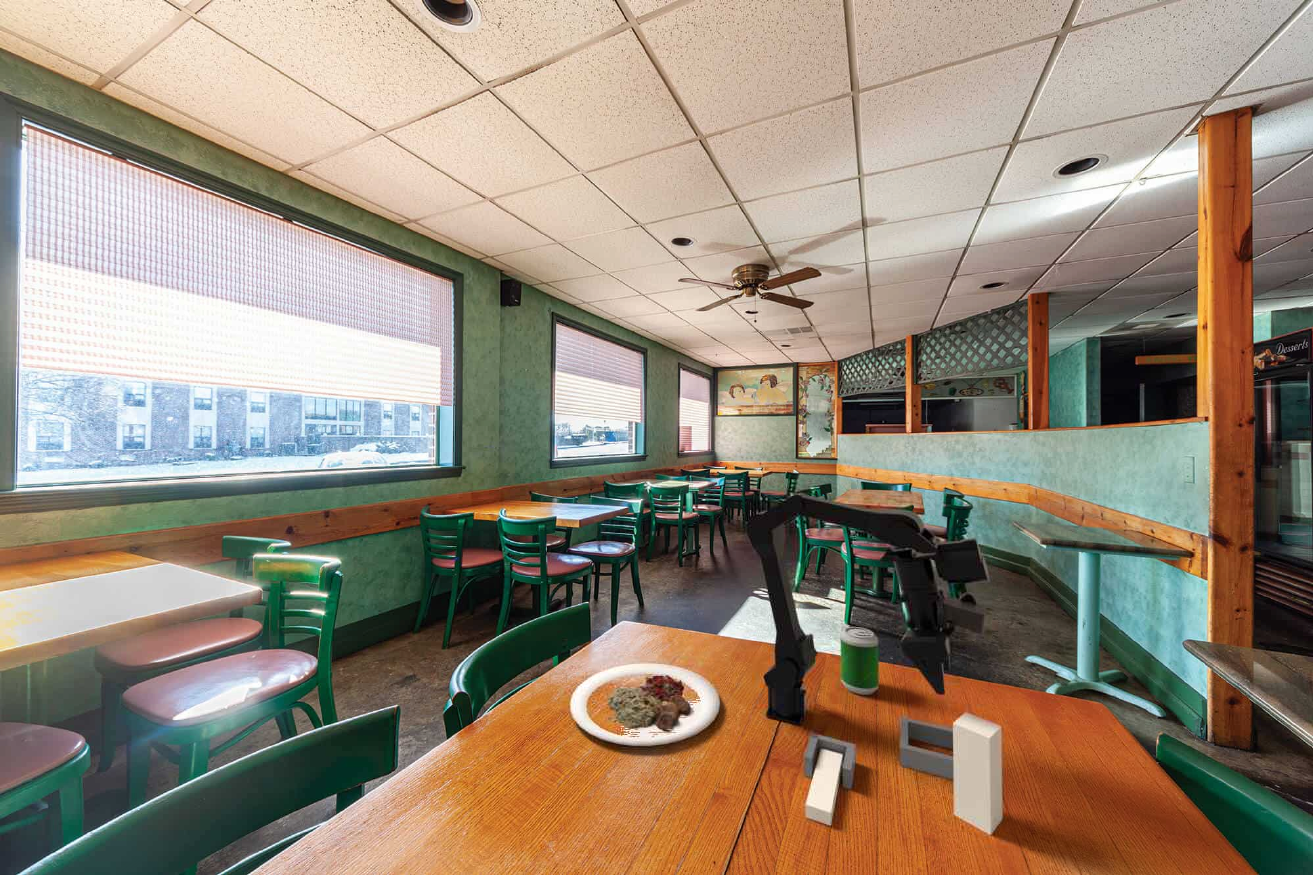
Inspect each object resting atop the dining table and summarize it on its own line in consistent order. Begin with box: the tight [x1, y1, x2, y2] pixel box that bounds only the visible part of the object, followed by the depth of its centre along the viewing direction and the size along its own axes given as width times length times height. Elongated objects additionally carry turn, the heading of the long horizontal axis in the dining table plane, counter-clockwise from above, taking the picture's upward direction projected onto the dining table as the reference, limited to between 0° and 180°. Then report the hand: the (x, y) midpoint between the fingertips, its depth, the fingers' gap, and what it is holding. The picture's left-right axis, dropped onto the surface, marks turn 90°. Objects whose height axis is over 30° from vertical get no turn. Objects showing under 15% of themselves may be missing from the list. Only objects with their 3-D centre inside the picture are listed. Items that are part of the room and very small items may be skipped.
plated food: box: [569, 663, 721, 747], centre depth 98 cm, size 30×30×3 cm
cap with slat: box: [803, 732, 856, 827], centre depth 74 cm, size 7×16×3 cm, turn 153°
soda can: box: [840, 626, 880, 696], centre depth 104 cm, size 8×8×12 cm
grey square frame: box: [899, 716, 954, 781], centre depth 81 cm, size 10×10×3 cm
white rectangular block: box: [952, 711, 1003, 836], centre depth 68 cm, size 4×4×13 cm
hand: (943, 682), depth 79 cm, fingers open, 9 cm apart
